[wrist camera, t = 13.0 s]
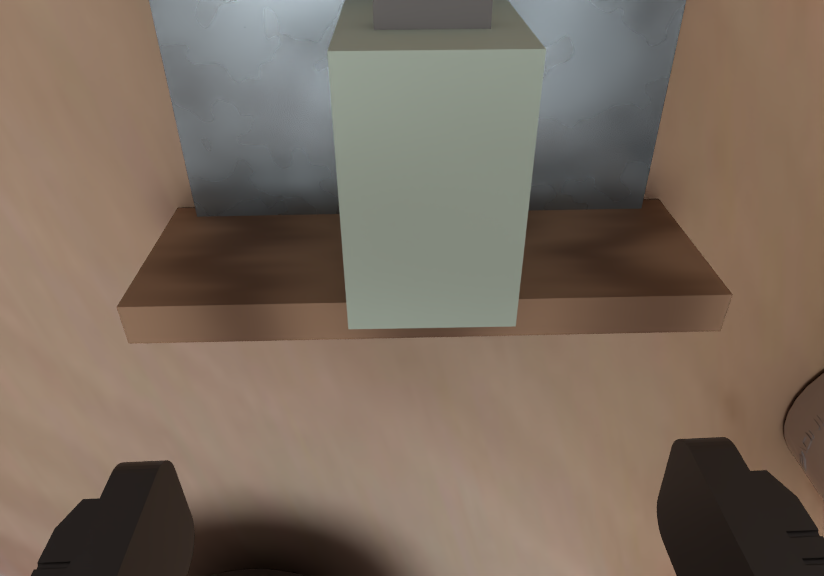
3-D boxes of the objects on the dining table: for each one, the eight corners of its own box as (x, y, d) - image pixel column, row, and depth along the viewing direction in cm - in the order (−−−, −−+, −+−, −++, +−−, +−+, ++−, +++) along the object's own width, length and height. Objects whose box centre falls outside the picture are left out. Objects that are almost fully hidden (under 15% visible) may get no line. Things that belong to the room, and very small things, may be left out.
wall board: (659, 199, 27) (732, 294, 21) (651, 230, 27) (720, 330, 22) (177, 207, 26) (116, 307, 21) (185, 239, 27) (128, 343, 21)
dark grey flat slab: (699, -111, 20) (734, -108, 18) (635, 199, 27) (655, 228, 25) (135, -105, 20) (105, -101, 18) (202, 207, 26) (185, 237, 24)
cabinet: (500, -39, 21) (550, 11, 14) (484, 205, 26) (515, 326, 19) (346, -37, 21) (324, 13, 14) (360, 207, 26) (348, 329, 19)
